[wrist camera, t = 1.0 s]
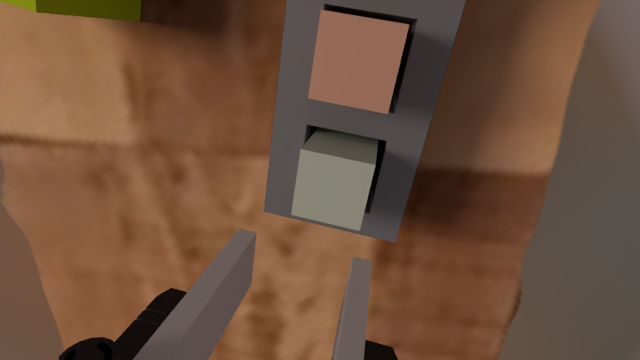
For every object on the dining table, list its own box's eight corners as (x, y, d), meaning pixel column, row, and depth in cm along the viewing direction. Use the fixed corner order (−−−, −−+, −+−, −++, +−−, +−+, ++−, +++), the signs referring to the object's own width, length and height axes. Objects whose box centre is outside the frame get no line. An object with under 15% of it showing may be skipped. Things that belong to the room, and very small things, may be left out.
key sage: (321, 123, 29) (300, 149, 22) (378, 135, 28) (375, 165, 21) (313, 176, 30) (291, 214, 24) (366, 188, 30) (359, 231, 23)
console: (328, -152, 24) (309, -211, 18) (489, -134, 23) (521, -190, 17) (284, 184, 34) (263, 211, 29) (394, 209, 33) (395, 242, 27)
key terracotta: (339, 19, 25) (320, 9, 19) (403, 29, 25) (409, 24, 18) (328, 84, 27) (307, 98, 20) (388, 96, 27) (387, 114, 20)
